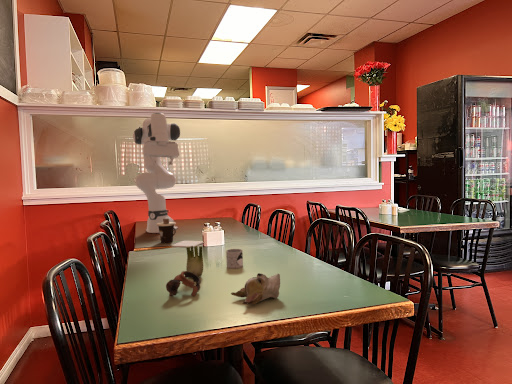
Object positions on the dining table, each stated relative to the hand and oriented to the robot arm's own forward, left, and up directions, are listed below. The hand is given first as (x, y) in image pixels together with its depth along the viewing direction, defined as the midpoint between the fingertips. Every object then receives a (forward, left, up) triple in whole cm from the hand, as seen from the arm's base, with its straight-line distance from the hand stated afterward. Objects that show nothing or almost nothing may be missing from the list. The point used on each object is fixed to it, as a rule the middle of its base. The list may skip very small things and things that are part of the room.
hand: (162, 164), depth 202 cm
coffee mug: (0, +1, -44) cm, 44 cm away
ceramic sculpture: (+73, +78, -44) cm, 115 cm away
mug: (+37, +56, -44) cm, 80 cm away
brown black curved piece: (+74, +52, -44) cm, 100 cm away
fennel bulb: (+56, +47, -44) cm, 85 cm away
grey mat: (+3, +15, -44) cm, 46 cm away
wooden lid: (0, 0, -34) cm, 34 cm away
